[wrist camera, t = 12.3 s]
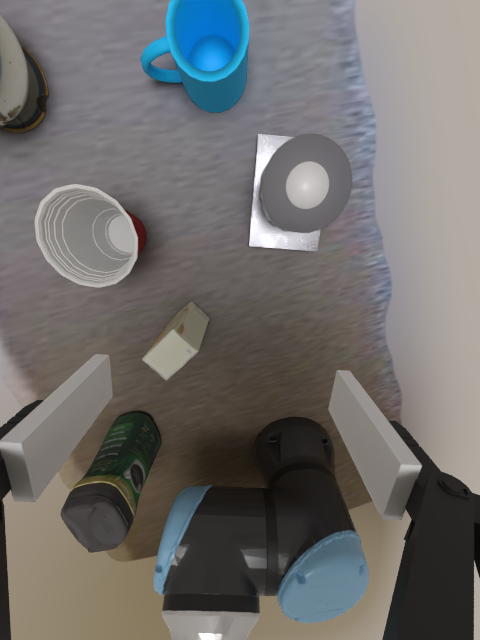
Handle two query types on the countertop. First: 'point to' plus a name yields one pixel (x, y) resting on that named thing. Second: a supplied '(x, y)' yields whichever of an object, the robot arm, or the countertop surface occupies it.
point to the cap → (305, 184)
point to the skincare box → (177, 341)
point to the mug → (204, 51)
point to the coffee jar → (112, 484)
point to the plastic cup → (88, 235)
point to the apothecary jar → (19, 85)
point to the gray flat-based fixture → (260, 226)
